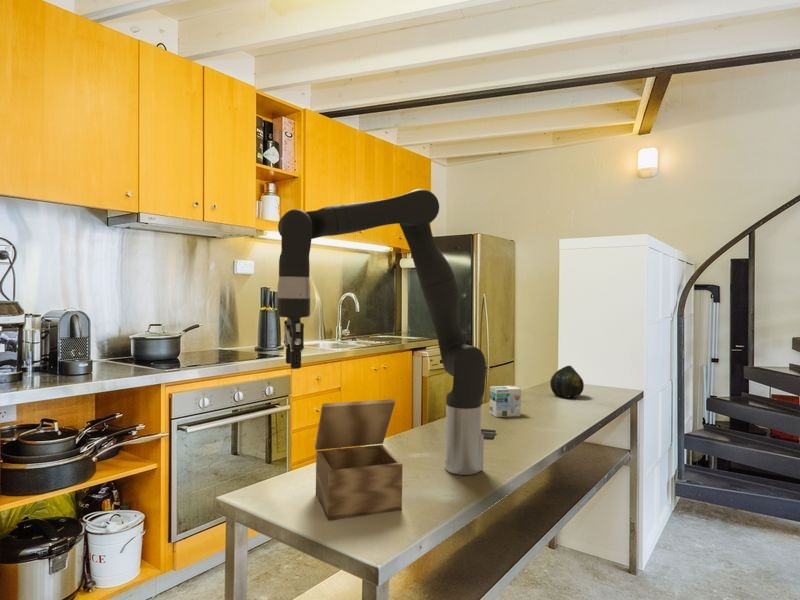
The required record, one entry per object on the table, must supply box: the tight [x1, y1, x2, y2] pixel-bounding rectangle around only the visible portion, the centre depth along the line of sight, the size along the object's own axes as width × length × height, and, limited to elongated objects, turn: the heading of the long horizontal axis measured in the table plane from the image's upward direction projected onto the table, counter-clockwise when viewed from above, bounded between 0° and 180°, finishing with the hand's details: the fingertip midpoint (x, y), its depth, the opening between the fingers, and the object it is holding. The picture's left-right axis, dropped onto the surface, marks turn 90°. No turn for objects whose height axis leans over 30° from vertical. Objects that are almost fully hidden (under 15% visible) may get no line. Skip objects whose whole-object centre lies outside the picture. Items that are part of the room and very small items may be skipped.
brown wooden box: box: [315, 444, 403, 522], centre depth 110 cm, size 16×14×10 cm
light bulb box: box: [488, 385, 522, 418], centre depth 192 cm, size 11×7×11 cm, turn 104°
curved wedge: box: [481, 428, 497, 440], centre depth 165 cm, size 8×14×2 cm, turn 73°
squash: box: [549, 365, 585, 399], centre depth 229 cm, size 14×15×15 cm
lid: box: [314, 398, 396, 451], centre depth 113 cm, size 16×14×1 cm
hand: (293, 365), depth 115 cm, fingers open, 8 cm apart
